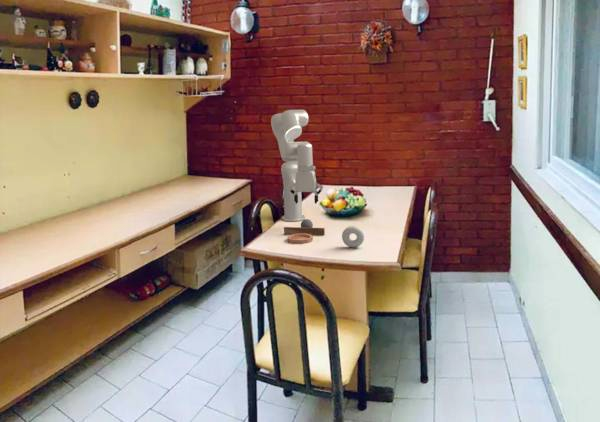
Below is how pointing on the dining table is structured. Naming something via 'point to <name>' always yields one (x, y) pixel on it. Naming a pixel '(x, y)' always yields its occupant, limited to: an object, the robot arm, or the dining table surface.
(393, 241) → the dining table surface
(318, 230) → the wall
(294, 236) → the bowl
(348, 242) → the donut
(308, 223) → the ball
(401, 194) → the dining table surface
